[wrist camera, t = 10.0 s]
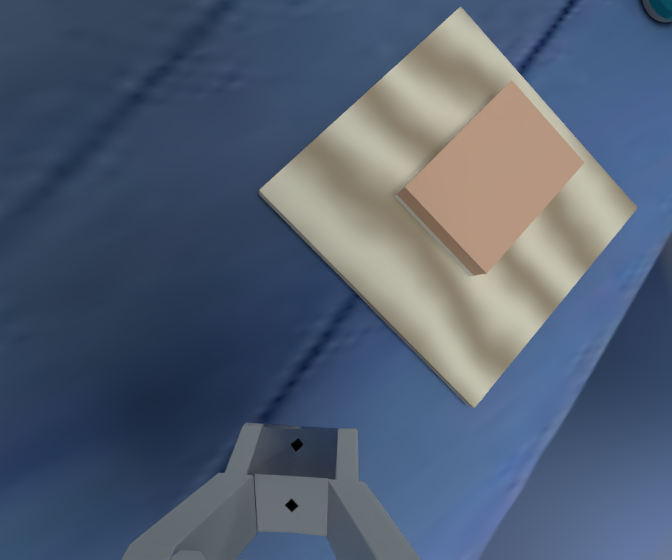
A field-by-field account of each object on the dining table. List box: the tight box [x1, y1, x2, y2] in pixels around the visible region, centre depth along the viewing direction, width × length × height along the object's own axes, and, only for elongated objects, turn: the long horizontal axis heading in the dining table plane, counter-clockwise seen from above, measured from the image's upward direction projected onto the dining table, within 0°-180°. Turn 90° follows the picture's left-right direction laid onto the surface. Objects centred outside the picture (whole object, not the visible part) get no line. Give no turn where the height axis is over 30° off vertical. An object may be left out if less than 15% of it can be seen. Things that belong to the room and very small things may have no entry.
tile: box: [394, 80, 585, 276], centre depth 30 cm, size 9×2×13 cm
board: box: [259, 7, 637, 408], centre depth 32 cm, size 24×24×1 cm
